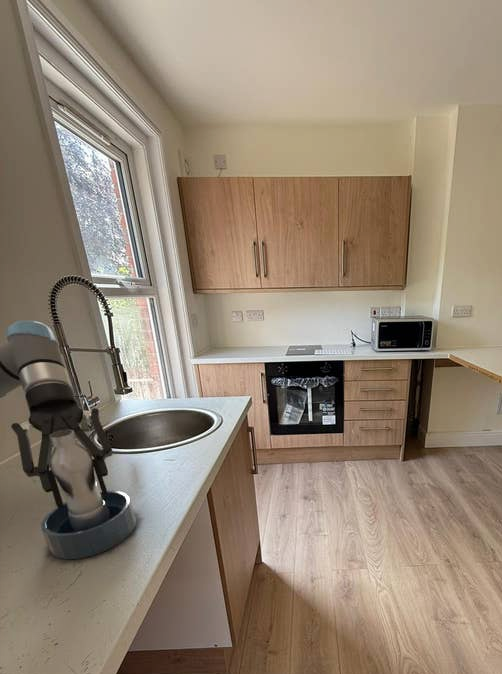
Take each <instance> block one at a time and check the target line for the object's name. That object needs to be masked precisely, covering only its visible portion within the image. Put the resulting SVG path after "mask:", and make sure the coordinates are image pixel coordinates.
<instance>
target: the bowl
mask: <svg viewBox="0 0 502 674" xmlns="http://www.w3.org/2000/svg"><path fill="white" fill-rule="evenodd" d="M99 492H100V494H101V496H102V499H103V501H104V502H105V503H106V505H107V507H108V509H109V515H110V517H109V520H108V521H107V522H105V523H103V524H101V525H99V526H96V527H93V528H91V529H88V530H84V531H79V532H77V531H75V530H74V529H73V527H72V526H71V524H70V520H69V513H68V512H69V511H68V507H67V503H66V501H65V502H63V505H64V508H61V509H59V508H58V507H57V506H56V507H55V508H53V509H52V510H51V511H50V512H48V513H47V514H46V515H45V516H44V518H43V520H42V522H41V523H40V527H41V532H42V535H43V536H44V539H45V541H46V543H47V546H48V549H49V551H50V553H51V554H52V555H53V556H55V557H56V558H58V559H63V560H80V559H83V558H88V557H93V556H96V555H98V554H101V553H102V552H105V551H108V550H110V549H112V548H114V547H115V546H117V545H119V544H120V543H122V542H123V541H124V540H126V539H127V538H128V537H129V536H130V535H131V534H132V533H133V531H134V530H135V528H136V525H137V518H136V513H135V511H134V508H133V504H132V500H131V498H130V496H129V495H128V494H127V493H125V492H124V491H119V490H114V489H113V490H107V493H108V494H106V495H103V494H102V491H101V490H99Z"/></svg>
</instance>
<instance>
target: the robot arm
mask: <svg viewBox="0 0 502 674" xmlns="http://www.w3.org/2000/svg"><path fill="white" fill-rule="evenodd" d="M6 335H7V336H6V340H7V343H5V344H4V345H1V346H0V399H1V398H4V397H5V396H6V395H7V394H9V393H11V392H12V391H14V390H16V389H17V388H19V387H20V386H21V388H22V391H23V394H24V395H25V400H26V404H27V408H28V411H29V417H28V420H27V421H24V422H22V423H18V422H14V423H12V424H11V426H10V427H11V429H12V431H13V432H14V434H15V435H16V438H17V443H18V448H19V453H20V459H21V467H22V471H23V472H24V474H25V475H26V476H27V477H29V478H32V477H39V480H40V483H41V488H42V489H43V491H44V492H45V493H47V494H48V493H51V492H52V495H53V499H54V503H55V505H56V507H58V508H59V509H61V508H64V505H63V503H64V502H63V499H62V495H61V491H60V488H59V484H58V481H57V479H56V478H55V476H54V474H53V472H52V471H51V469H50V466H49V460H50V458H51V455H52V453H53V447H52V445H51V440H50V438H49V435H50V434H52V433H54V432H57V431H61V430H73V431H74V433H75V436H76V437H77V440H78V441H79V442H80V444H81V446H82V447H84V448H85V449H86V450H88V451H89V453H90V454H91V456H92V460H93V461H92V462H93V467H94V474H95V475H96V476H95V477H96V480H97V482H98V484H99V488H100V491H102V494H103V495H106V494H108V493H107V491H108V490H107V487H106V483H105V480H104V477H106V476H107V477H108V475H109V470H108V467H107V464H106V461H105V460H106V459H107V458H109V457H112V456H113V454H114V453H113V448H112V445H111V442H110V441H109V439H108V437H107V434H106V432H105V429H104V428H103V425H102V423H101V420H100V418H101V416H100V411H99V409H98V408H96V407H95V408H92V409H91V410H83V409H82V408H81V407H80V406H79V404H78V401H77V397H76V395H75V392H74V389H73V387H72V383H71V379H70V378H69V374H68V371H67V369H66V367H65V365H64V362H63V358H62V355H61V351H60V345H59V343H58V341H57V339H56V338H55V334H54V333H53V330H52V329H51V328H50V327H48V326H47V325H46V324H44V323H42V322H39V321H35V320H19V321H15V322H14V323H12V324H10V325H9V326H8V327H7V330H6ZM84 418H86V420H87V421H88V422H89V423H91V424H92V427H93V430H94V432H95V434H96V436H97V439H98V441H99V442H100V446H101V448H102V450H101V449H99V447H97V445H95V443H94V442H93V441H92V439H91V438H90V436H88V435H87V434H86V432H85V431H84V430H83V429H82V427H81V426H80V424H81V422H82V420H83V419H84ZM32 428H34V429H35V430H37V431H39V432H40V433H41V442H40V447H39V454H38V460H37V466H35V463H34V459H33V453H32V452H33V451H32V447H31V441H30V438H29V436H30V434H31V433H32V431H31V429H32Z"/></svg>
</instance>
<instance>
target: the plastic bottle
mask: <svg viewBox="0 0 502 674" xmlns="http://www.w3.org/2000/svg"><path fill="white" fill-rule="evenodd" d="M49 438H50V440H51V445H52V448H54V449H53V450H52V453H51V458H50V460H49V466H50V468H49V470H51V471H52V472H53V474H54V476H55V478H56V482H57V484H58V485H59V487H60V489H61V491H62V493H63V496H64V498H65V502H66V503H67V507H68V511H69V512H68V513H69V520H70V524H71V526H72V527H73V529H74V530H75V531H77V532H79V531H84V530H88V529H91V528H93V527H96V526H99V525H101V524H103V523H105V522H107V521H108V520H109V517H110V515H109V509H108V507H107V505H106V503H105V502H104V501H103V499H102V496H101V494H100V492H99V491H100V489H99V488H98V484H97V478H96V476H95V475H96V474H95V470H94V467H93V462H92V461H93V460H92V459H93V456H92V455H91V454H90V453H89V451H88V450H87V449H86V448H85V447H84V446H83V445H82V444H79V443H78V441H79V440H78V439H77V437H76V436H75V433H74V431H73V430H61V431H57V432H54V433H52V434H50V435H49Z"/></svg>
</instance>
